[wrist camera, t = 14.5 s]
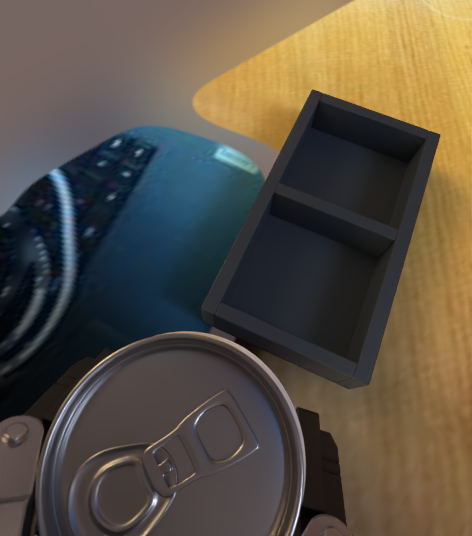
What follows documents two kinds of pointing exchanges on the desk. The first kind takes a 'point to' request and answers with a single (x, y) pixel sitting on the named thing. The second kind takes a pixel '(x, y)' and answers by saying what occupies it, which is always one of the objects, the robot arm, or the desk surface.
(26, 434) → the robot arm
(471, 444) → the desk surface
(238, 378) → the can
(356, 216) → the tray
